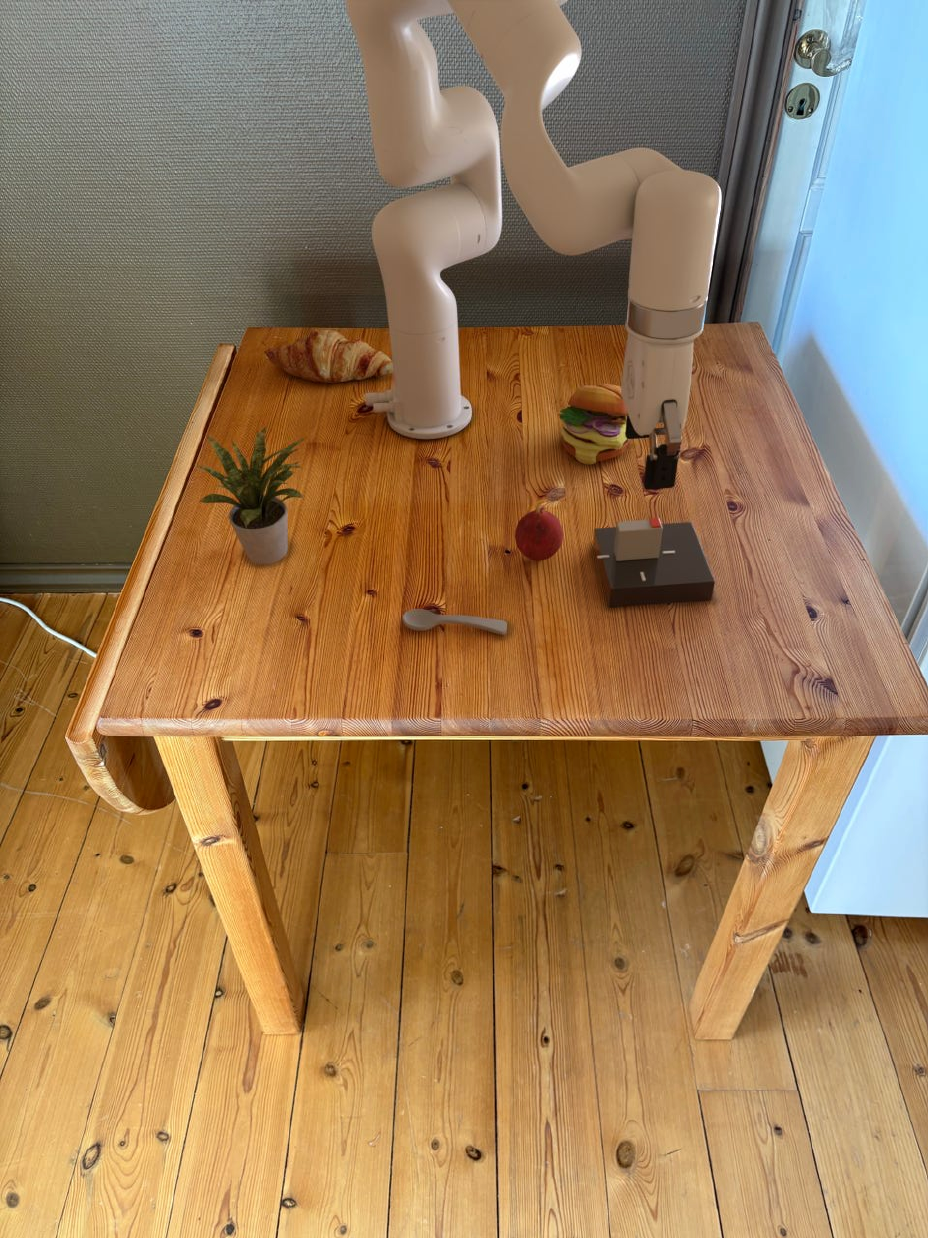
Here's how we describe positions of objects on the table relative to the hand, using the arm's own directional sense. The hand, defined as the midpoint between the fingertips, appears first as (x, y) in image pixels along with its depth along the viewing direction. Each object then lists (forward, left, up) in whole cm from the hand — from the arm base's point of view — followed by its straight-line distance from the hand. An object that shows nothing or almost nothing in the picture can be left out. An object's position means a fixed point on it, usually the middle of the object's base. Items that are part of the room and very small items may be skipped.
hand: (648, 461), depth 101 cm
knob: (0, -1, -12) cm, 12 cm away
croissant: (-38, +52, -16) cm, 67 cm away
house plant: (-44, +7, -16) cm, 48 cm away
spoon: (-22, -8, -16) cm, 29 cm away
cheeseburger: (0, +27, -16) cm, 31 cm away
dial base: (+2, -1, -16) cm, 16 cm away
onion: (-11, +3, -16) cm, 20 cm away
